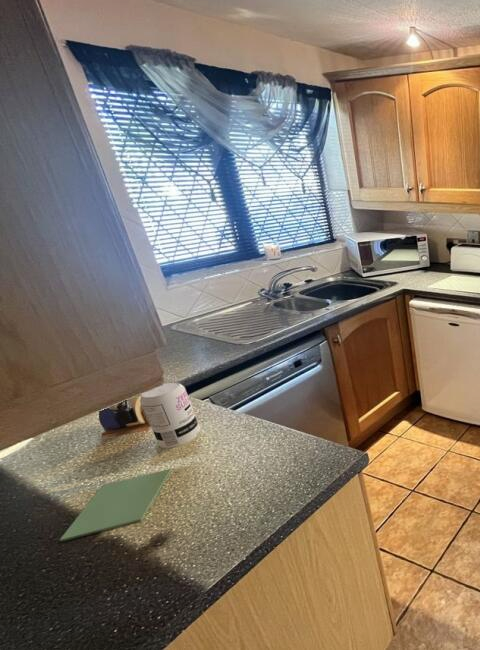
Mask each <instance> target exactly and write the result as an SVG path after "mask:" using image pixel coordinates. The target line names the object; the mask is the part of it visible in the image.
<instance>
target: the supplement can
mask: <svg viewBox="0 0 480 650" xmlns="http://www.w3.org/2000/svg"><path fill="white" fill-rule="evenodd" d="M163 382H164V384H163V386H161V387H158V388H155V389H153V390H151V391H148V392H145V393H142V394H141V395H142V396H141V399H140V403H141V405H142V407H143V409H144V412H145V414H146V416H147V419H148V421H149V423H150V425H151V426H150V428H151V430H152V433H153V435H154V437H155V439H156V441H157V444H158V446H159V447H160V448H163V449H170V448H171V449H172V448H176V447H179V446H181V445H182V446H183V445H185V444H187V443H189V442H191V441H192V440H194V439H195V438H196V437H197V436H198V435H199V434H200V433H201V426H200V423H199V421H198V419H197V416H196V413H195V410H194V408H193V405H192V403H191V400H190V398H189V395H188V392H187V389H186V387H185V386H184V385H183V384H181V383H180V382H179V381H175V380H169V381H168V380H167V381H163Z"/></svg>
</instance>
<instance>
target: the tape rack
mask: <svg viewBox="0 0 480 650" xmlns="http://www.w3.org/2000/svg"><path fill="white" fill-rule="evenodd" d="M142 413H143V415H144V417H145V419H146V422H147V423H144V424H139V425H134V426H128V425H126V424H125V425H126V427H124V428H118V429H113V430H106V429H104V428H103V429H104V432H101V436H100V437H99V438H98V440H99V441H100V440H104V439H108V438H113V437H118V436H124V435H129V434H135V433H139V432H144V431H148V430H149V429H150V428H151V425H150V423H149V421H148V419H147V416H146V414H145V412H144V411H143V412H142Z"/></svg>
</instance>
